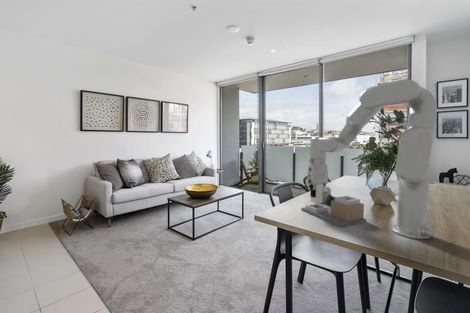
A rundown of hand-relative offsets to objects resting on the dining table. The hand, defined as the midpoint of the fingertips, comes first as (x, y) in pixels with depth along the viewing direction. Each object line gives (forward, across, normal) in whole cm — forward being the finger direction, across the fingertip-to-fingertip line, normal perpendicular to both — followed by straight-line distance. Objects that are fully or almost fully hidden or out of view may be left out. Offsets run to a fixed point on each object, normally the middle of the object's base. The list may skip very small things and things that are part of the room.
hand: (316, 196), depth 122 cm
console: (+8, +3, -7) cm, 11 cm away
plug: (+3, 0, 0) cm, 3 cm away
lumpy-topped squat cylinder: (+9, +20, +18) cm, 28 cm away
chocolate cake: (+9, +16, +2) cm, 19 cm away
